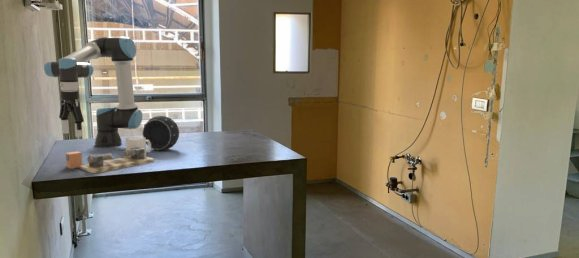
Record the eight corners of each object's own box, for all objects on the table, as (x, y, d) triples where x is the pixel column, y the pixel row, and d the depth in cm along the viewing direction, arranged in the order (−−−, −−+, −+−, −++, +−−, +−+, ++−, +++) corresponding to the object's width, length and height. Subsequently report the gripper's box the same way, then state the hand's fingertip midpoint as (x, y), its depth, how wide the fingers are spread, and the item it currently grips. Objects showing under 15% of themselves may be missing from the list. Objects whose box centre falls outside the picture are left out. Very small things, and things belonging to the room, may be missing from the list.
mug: (145, 153, 245) (144, 135, 243) (155, 156, 238) (154, 137, 237) (122, 157, 235) (121, 138, 233) (132, 160, 228) (131, 140, 226)
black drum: (173, 153, 246) (172, 118, 243) (140, 151, 250) (139, 116, 246) (181, 149, 256) (180, 115, 253) (150, 147, 260) (149, 114, 257)
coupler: (66, 167, 212) (65, 153, 211) (78, 164, 216) (77, 151, 215) (70, 168, 209) (69, 154, 208) (82, 166, 214) (81, 152, 212)
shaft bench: (93, 173, 201) (92, 159, 200) (79, 168, 210) (78, 155, 209) (153, 161, 225) (153, 149, 224) (138, 157, 234) (138, 145, 233)
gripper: (49, 89, 212) (52, 132, 215) (73, 92, 196) (76, 139, 199) (65, 89, 217) (68, 131, 221) (90, 92, 202) (92, 137, 205)
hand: (72, 135), depth 210 cm, fingers open, 13 cm apart
